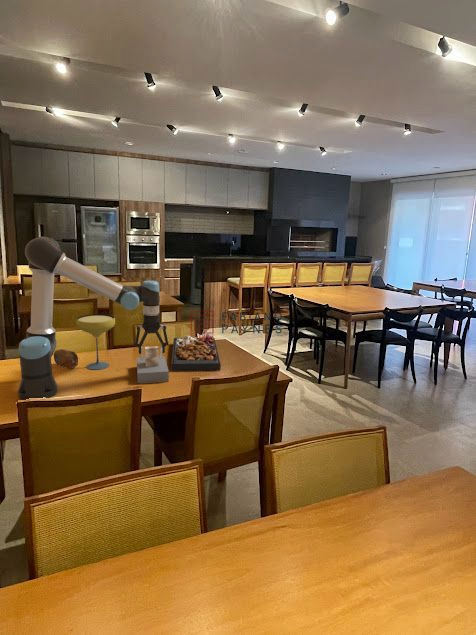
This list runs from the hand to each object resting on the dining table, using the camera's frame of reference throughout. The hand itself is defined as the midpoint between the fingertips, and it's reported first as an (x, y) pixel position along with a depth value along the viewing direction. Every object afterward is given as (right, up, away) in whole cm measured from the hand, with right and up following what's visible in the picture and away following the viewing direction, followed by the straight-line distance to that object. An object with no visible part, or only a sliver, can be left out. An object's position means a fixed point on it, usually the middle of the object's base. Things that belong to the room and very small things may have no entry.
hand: (151, 359), depth 201 cm
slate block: (0, -7, +2) cm, 7 cm away
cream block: (0, -2, +1) cm, 2 cm away
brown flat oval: (-44, -4, +8) cm, 45 cm away
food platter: (+18, -2, +30) cm, 35 cm away
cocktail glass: (-29, -4, +9) cm, 31 cm away
